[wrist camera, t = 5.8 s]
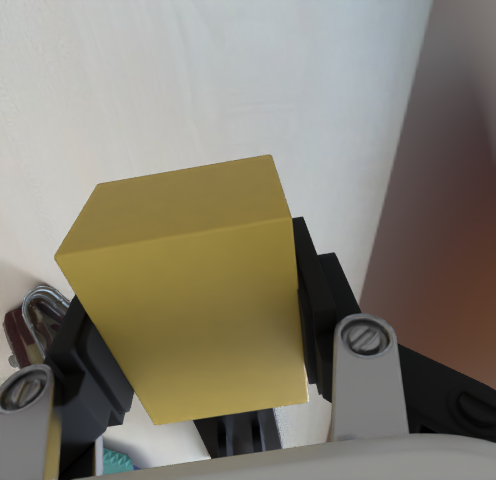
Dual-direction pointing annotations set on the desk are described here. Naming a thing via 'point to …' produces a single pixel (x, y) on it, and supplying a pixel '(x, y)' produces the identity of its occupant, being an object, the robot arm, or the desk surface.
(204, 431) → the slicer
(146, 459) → the desk surface
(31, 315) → the chocolate cake
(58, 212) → the desk surface
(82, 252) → the butter
